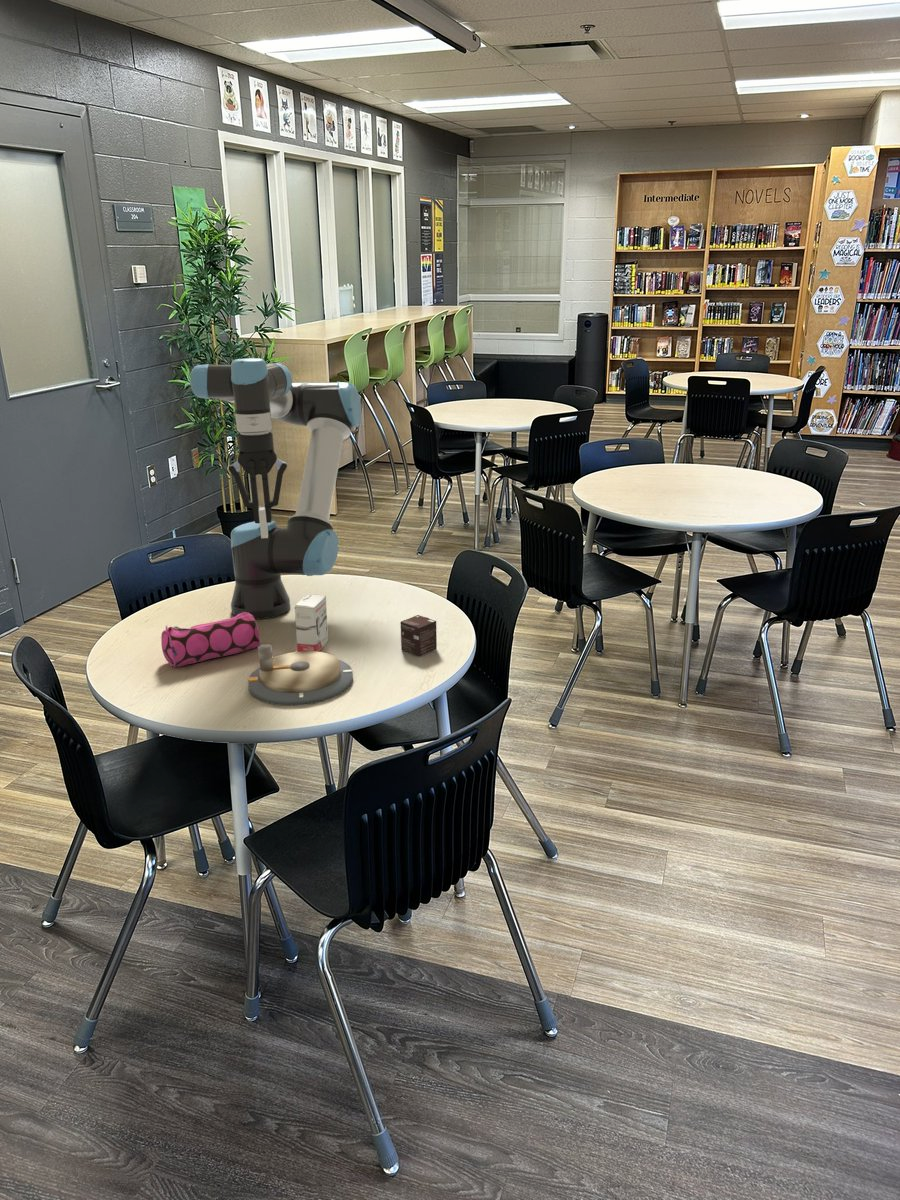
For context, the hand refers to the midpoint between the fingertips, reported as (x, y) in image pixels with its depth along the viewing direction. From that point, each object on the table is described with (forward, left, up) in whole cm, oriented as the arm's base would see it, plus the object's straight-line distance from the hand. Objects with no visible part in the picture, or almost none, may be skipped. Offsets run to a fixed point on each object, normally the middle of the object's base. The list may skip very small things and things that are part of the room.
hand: (264, 536), depth 202 cm
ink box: (+4, +9, -27) cm, 28 cm away
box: (+11, +33, -27) cm, 44 cm away
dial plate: (+23, +6, -26) cm, 36 cm away
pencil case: (+5, -14, -27) cm, 30 cm away
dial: (+23, +6, -25) cm, 34 cm away
